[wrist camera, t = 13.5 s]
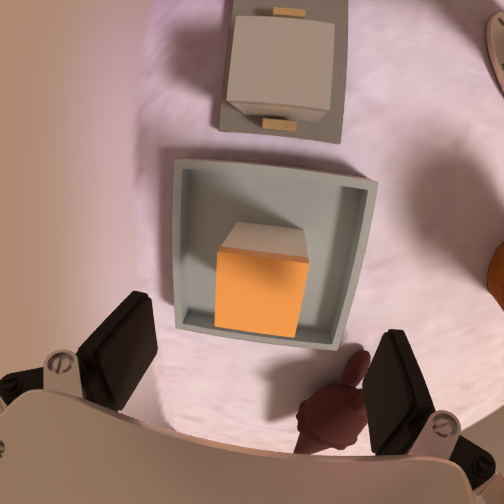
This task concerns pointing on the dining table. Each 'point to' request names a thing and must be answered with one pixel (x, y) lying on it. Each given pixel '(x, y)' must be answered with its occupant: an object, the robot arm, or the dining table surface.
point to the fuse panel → (330, 125)
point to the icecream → (334, 411)
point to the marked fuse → (261, 279)
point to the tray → (275, 214)
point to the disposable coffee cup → (497, 276)
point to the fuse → (281, 67)
